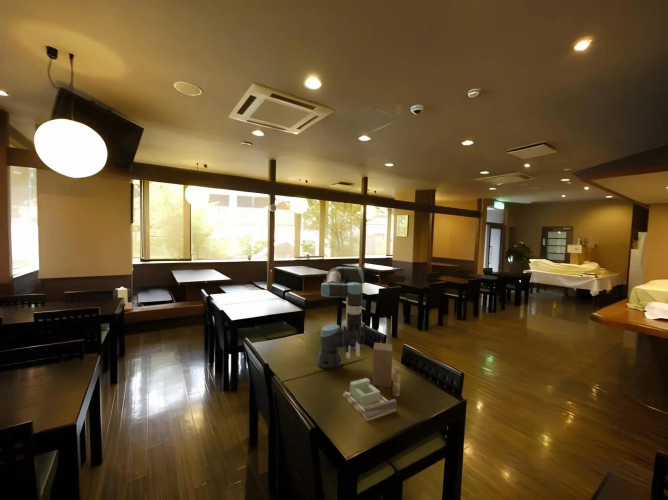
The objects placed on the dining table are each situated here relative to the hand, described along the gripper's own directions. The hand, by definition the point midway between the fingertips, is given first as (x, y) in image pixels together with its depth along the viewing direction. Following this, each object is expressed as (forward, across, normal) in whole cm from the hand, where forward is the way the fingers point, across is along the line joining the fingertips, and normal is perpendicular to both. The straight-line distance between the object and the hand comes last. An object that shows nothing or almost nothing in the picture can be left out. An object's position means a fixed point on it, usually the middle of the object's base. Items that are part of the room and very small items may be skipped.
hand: (352, 356), depth 146 cm
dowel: (+17, +17, -15) cm, 28 cm away
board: (+17, 0, -15) cm, 23 cm away
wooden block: (+17, +18, -2) cm, 25 cm away
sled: (+16, 0, -11) cm, 19 cm away
